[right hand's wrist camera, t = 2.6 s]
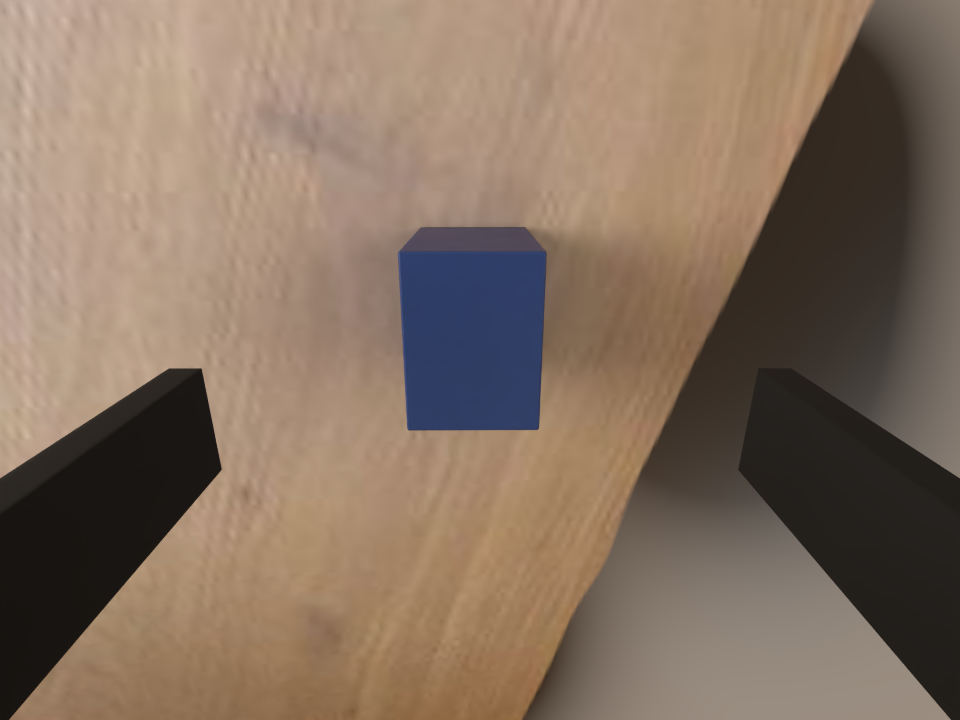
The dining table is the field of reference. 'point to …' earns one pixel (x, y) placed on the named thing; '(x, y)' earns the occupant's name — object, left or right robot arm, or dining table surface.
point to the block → (472, 328)
